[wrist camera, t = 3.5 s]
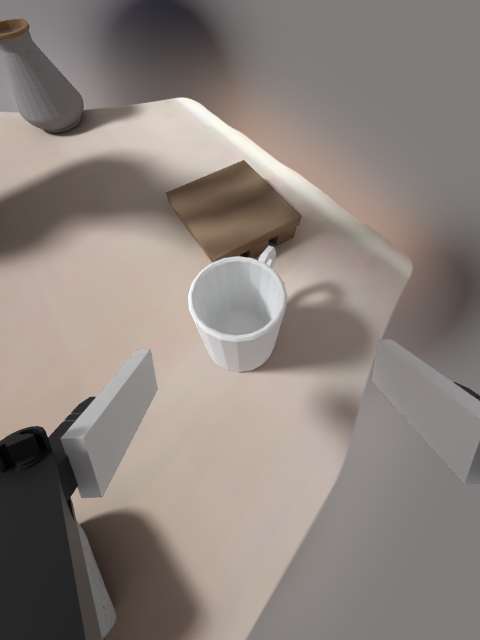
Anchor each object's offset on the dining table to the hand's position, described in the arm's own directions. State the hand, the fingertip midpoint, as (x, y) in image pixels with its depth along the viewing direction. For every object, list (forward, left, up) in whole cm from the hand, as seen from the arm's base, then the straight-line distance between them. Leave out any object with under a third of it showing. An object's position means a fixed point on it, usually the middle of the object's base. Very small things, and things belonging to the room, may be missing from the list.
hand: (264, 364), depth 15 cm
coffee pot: (-70, -6, -13) cm, 71 cm away
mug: (-8, +4, -13) cm, 16 cm away
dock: (-23, +11, -13) cm, 28 cm away
